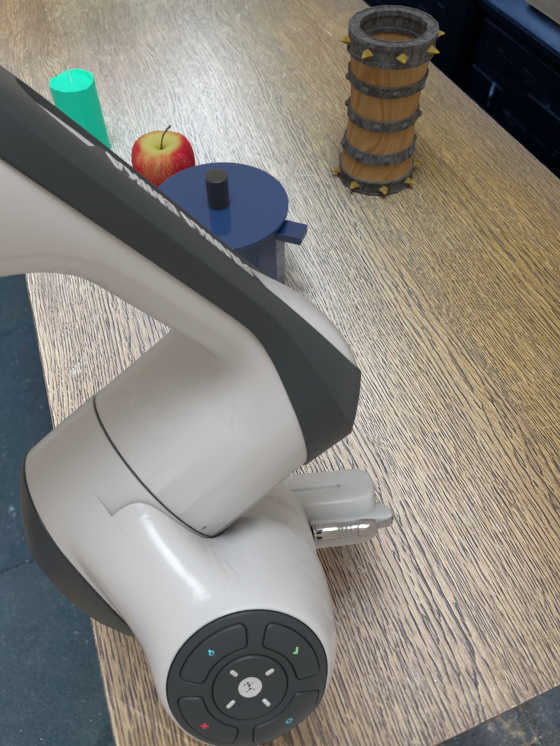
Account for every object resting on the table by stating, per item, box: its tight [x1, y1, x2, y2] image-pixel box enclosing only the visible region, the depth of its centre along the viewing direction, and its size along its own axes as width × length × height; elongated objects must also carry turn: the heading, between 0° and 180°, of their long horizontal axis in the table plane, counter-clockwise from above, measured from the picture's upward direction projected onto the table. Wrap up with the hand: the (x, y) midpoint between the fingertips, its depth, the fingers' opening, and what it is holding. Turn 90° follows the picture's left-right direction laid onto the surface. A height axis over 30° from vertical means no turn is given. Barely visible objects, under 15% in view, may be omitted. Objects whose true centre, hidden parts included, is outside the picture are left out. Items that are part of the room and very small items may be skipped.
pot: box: [237, 219, 309, 284], centre depth 74 cm, size 14×19×10 cm
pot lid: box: [158, 161, 290, 252], centre depth 69 cm, size 15×15×5 cm
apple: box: [130, 124, 196, 188], centre depth 85 cm, size 8×8×10 cm
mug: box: [330, 4, 446, 197], centre depth 84 cm, size 13×17×20 cm
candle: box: [48, 68, 111, 150], centre depth 90 cm, size 6×6×12 cm
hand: (243, 483), depth 56 cm, fingers closed, pressing on soda can
